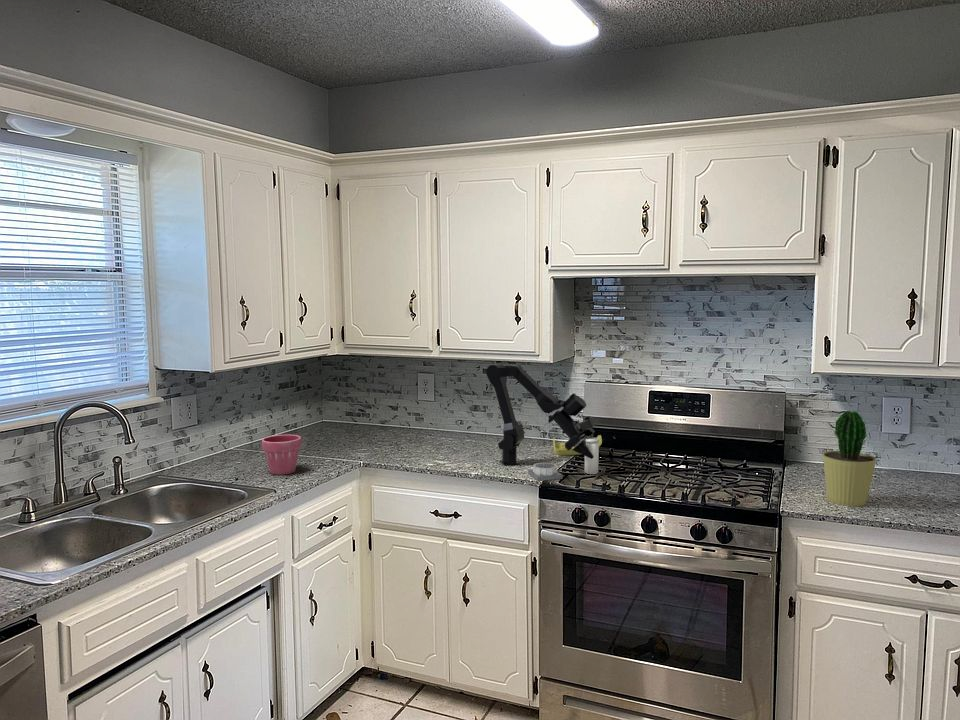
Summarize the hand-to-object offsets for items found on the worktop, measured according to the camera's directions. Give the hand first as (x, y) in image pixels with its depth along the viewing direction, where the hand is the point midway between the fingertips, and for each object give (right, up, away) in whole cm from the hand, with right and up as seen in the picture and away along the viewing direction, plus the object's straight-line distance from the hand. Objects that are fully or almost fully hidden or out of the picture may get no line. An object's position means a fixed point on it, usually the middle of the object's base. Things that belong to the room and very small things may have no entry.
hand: (595, 456), depth 265 cm
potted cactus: (+76, -10, -32) cm, 83 cm away
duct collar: (-19, -7, -3) cm, 20 cm away
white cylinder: (-1, -7, +1) cm, 7 cm away
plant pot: (-116, -6, +4) cm, 116 cm away
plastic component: (-2, -4, +33) cm, 33 cm away
